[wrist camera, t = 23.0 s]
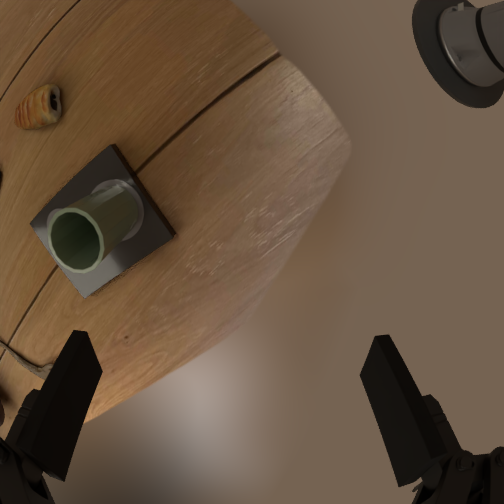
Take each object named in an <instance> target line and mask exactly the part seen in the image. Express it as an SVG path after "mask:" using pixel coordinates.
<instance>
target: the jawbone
mask: <svg viewBox="0 0 504 504" xmlns="http://www.w3.org/2000/svg"><path fill="white" fill-rule="evenodd" d="M0 346H1V347H3V348H5V349H6V350H7V351H8V352H9V353H10V354H11V355H12V356H13V357H14V358H15V359H16V360H17V361H18V362H19V363H20V364H21V365H22V366H24V367H25V368H27V369H28V370H30V371H31V372H33V373H34V374H36V375H37V376H39V377H40V378H42V379H44V380H46V378H47V376H48V374H49V372H50V371H51V369H52V367H53V364H46V365H45V366H44V367H43V368H42V367H41V368H38V367H36V366H34V365H32V364H30V363H28V362H26V361H25V360H23V359H22V358H21V357H20V356H18V355H17V354H16V353H14V352H13V351H12V350H11V349H10V348H8V347H7V346H5V345H4V344H3V343H2V342H0ZM50 368H51V369H50Z"/></svg>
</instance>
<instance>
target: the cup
mask: <svg viewBox="0 0 504 504" xmlns="http://www.w3.org/2000/svg"><path fill="white" fill-rule="evenodd" d="M137 218H138V208H137V204H136V201H135V199H134V198H133V196H132V195H131V194H130V193H129V192H128V191H127V190H126V189H124V188H122V187H119V186H107V187H104V188H102V189H100V190H98V191H96V192H94V193H92V194H90V195H88V196H86V197H84V198H82V199H80V200H78V201H77V202H75V203H73V204H71V205H69V206H67V207H65V208H63V209H62V210H60V211H58V212H56V213H55V215H54V216H53V218H52V219H51V221H50V223H49V228H48V241H49V247H50V249H51V251H52V253H53V255H54V257H55V259H56V260H57V261H58V262H59V263H60V264H61V265H62V266H63V267H64V268H66V269H68V270H70V271H72V272H74V273H83V274H85V273H88V272H90V271H93V270H95V269H96V268H97V266H98V265H99V264H100V263H101V262H102V261H103V260H104V259H105V258H106V257H107V256H108V254H109V253H110V252H111V251H112V250H113V249H114V248H115V247H116V246H117V245H118V244H119V243H120V242H121V241H122V240H123V239H124V238H125V236H126V235H127V234H128V233H129V232H130V231H131V230H132V229H133V228H134V226H135V224H136V222H137Z"/></svg>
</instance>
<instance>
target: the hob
mask: <svg viewBox="0 0 504 504" xmlns="http://www.w3.org/2000/svg"><path fill="white" fill-rule="evenodd" d="M107 186H119V187H122V188H124V189H126V190H127V191H128V192H129V193H130V194H131V195H132V196H133V198H134V199H135V201H136V204H137V208H138V218H137V222H136V224H135V226H134V228H133V229H132V230H131V231H130V232H129V233H128V234H127V235H126V236H125V238H124V239H123V240H122V241H121V242H120V243H119V244H118V245H117V246H116V247H115V248H114V249H113V250H112V251H111V252H110V253H109V254H108V256H107V257H106V258H105V259H104V260H103V261H102V262H101V263H100V264H99V265H98V266H97V268H96V269H95V270H93V271H90V272H88V273H85V274H83V273H74V272H72V271H70V270H68V269H66V268H64V267H63V266H62V265H61V264H60V263H59V262H58V261H57V260H56V259H55V257H54V255H53V253H52V251H51V249H50V247H49V241H48V228H49V223H50V221H51V219H52V218H53V216H54V215H55V213H56V212H58V211H60V210H62V209H63V208H65V207H67V206H69V205H71V204H73V203H75V202H77V201H78V200H80V199H82V198H84V197H86V196H88V195H90V194H92V193H94V192H96V191H98V190H100V189H102V188H104V187H107ZM30 225H31V226H32V228H33V229H34V231H35V232H36V234H37V235H38V237H39V238H40V240H41V241H42V243H43V244H44V246H45V247H46V249H47V250H48V252H49V253H50V254H51V256H52V257H53V259H54V260H55V261H56V263H57V264H58V265H59V267H60V268H61V270H62V271H63V272H64V274H65V275H66V276H67V277H68V279H69V280H70V281H71V283H72V284H73V285H74V286H75V288H76V289H77V290H78V291H79V293H80V294H81V295H82V296H83V298H84V299H85V298H87V297H88V296H89V295H91V294H92V293H93V292H95V291H96V290H98V289H99V288H100V287H102V286H103V285H105V284H106V283H108V282H109V281H110V280H112V279H113V278H115V277H116V276H118V275H119V274H120V273H122V272H123V271H125V270H126V269H128V268H129V267H131V266H132V265H134V264H135V263H136V262H138V261H139V260H141V259H142V258H144V257H145V256H147V255H148V254H150V253H151V252H153V251H154V250H156V249H157V248H159V247H160V246H162V245H163V244H165V243H166V242H168V241H170V240H171V239H173V238H174V236H175V234H176V232H175V231H174V230H173V228H172V227H171V225H170V224H169V223H168V221H167V220H166V218H165V217H164V215H163V214H162V213H161V211H160V210H159V208H158V207H157V205H156V204H155V202H154V201H153V200H152V198H151V197H150V195H149V194H148V192H147V191H146V189H145V188H144V186H143V185H142V183H141V182H140V180H139V179H138V177H137V176H136V174H135V173H134V171H133V170H132V168H131V167H130V165H129V164H128V162H127V161H126V159H125V158H124V156H123V155H122V153H121V152H120V150H119V148H118V147H117V145H116V144H111V145H109V146H108V147H107V148H106V149H104V150H103V151H102V152H101V153H100V154H99V155H97V156H96V157H95V158H94V159H93V160H92V161H91V162H89V163H88V164H87V165H86V166H85V167H84V168H83V169H82V170H81V171H80V172H79V173H78V174H76V175H75V176H74V177H73V178H72V179H71V180H70V181H69V182H68V183H67V184H66V185H65V186H64V187H63V188H62V189H61V190H60V191H59V192H58V193H57V194H56V195H55V196H54V197H53V198H52V199H51V200H50V201H49V202H48V204H47V205H46V206H45V207H44V208H43V209H42V210H41V211H40V212H39V213H38V214H37V216H36V217H35V218H34V219H33V220H32V221H31V222H30Z"/></svg>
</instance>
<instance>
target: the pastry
mask: <svg viewBox="0 0 504 504" xmlns="http://www.w3.org/2000/svg"><path fill="white" fill-rule="evenodd" d="M59 97H60V90H59V88H58V87H57V85H55V84H50V85H48V84H47V85H44V86H41V87H39V88H37V89H36V90H34V91H32V92H31V93H30V94H28V96H27V97H26V98H24V100H23V101H22V102H21V103H20V104H19V106H18V107H17V108H16V111H15V122H14V123H15V125H17V127H18V128H20V129H39V128H41V127H42V126H45V125H48V124H51V123H53V122H57V121H58V120H59V118H60V117H61V104H60V100H59Z"/></svg>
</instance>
